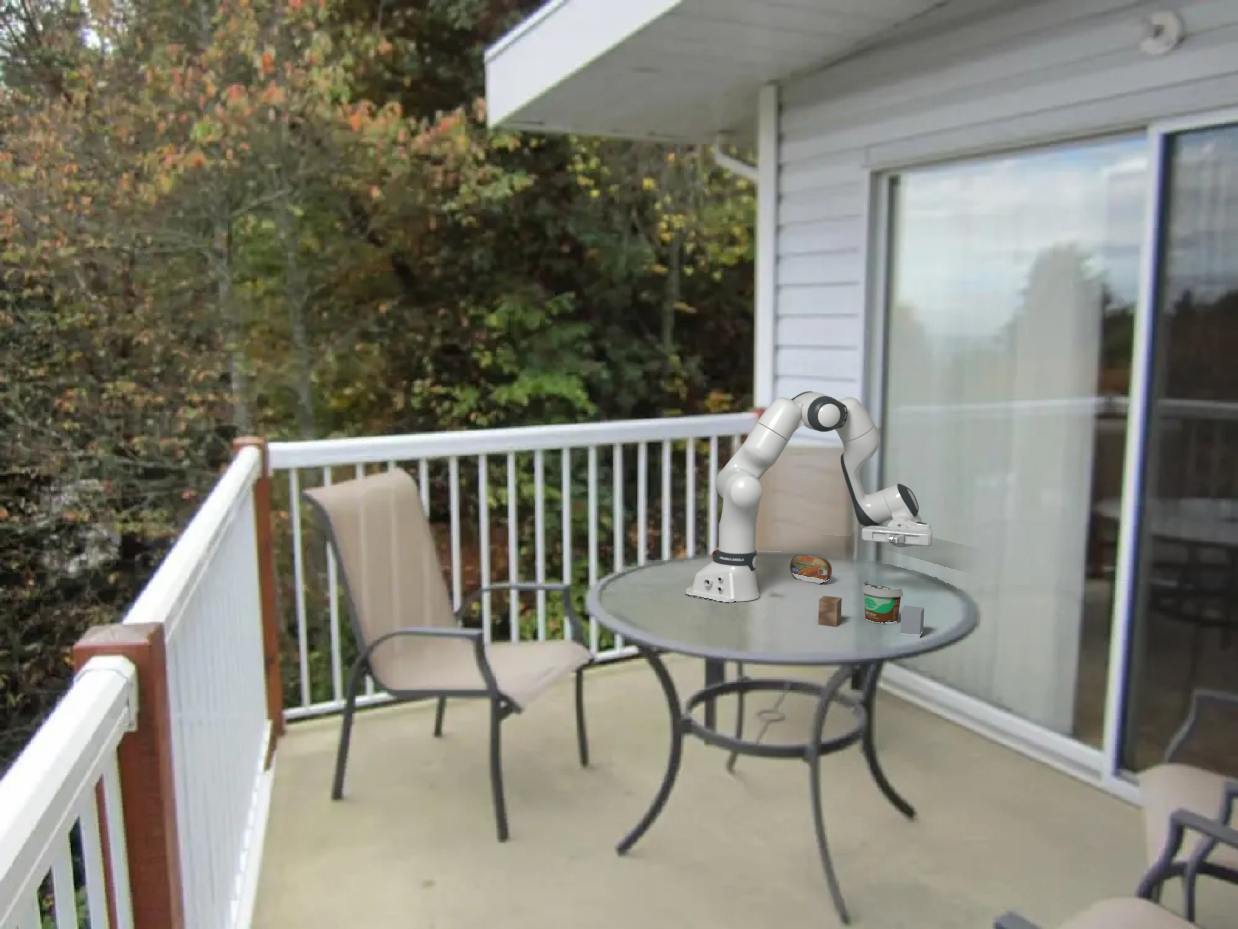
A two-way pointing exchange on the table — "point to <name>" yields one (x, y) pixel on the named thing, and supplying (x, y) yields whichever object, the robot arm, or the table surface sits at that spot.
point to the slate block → (912, 620)
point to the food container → (881, 603)
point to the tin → (811, 567)
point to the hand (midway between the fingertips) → (892, 540)
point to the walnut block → (829, 611)
